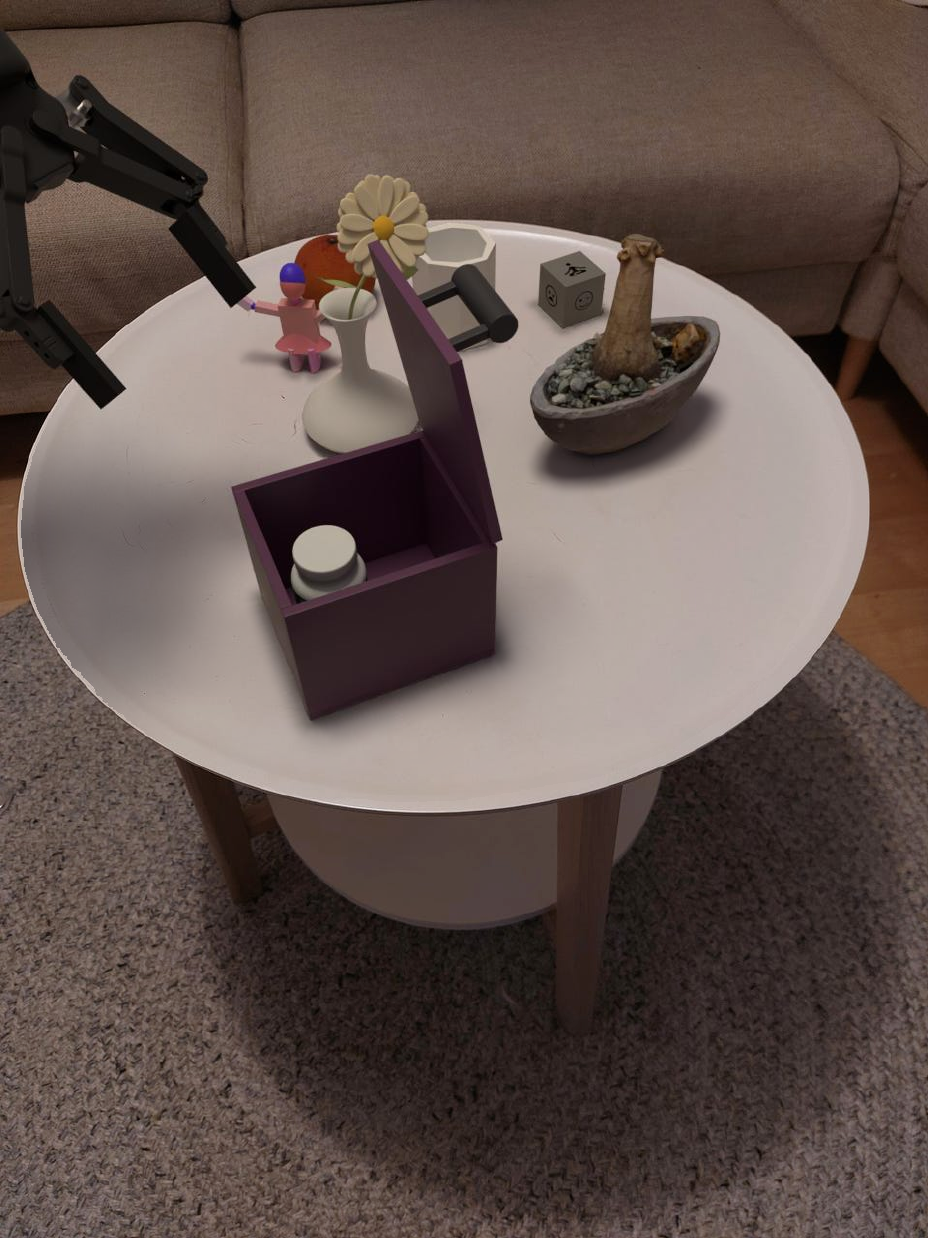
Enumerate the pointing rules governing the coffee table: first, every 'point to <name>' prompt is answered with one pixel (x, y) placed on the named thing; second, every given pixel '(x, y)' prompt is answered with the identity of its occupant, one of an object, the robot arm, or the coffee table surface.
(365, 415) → the flower in vase
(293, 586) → the pill bottle
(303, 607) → the chest
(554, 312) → the dice cube
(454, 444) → the lid
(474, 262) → the mug
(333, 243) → the fruit
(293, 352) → the figurine
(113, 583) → the coffee table surface
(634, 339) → the planter
